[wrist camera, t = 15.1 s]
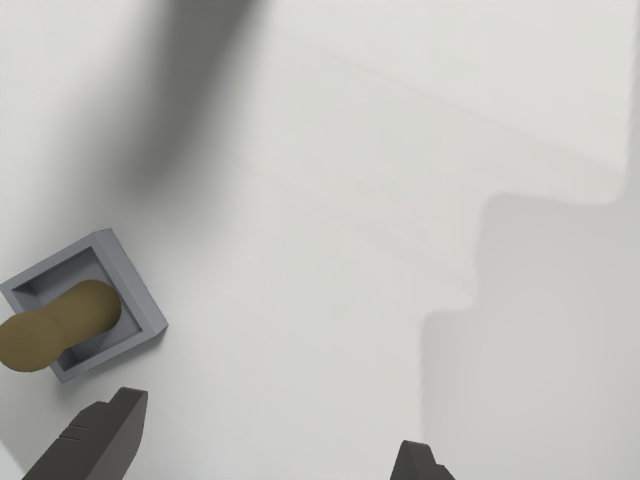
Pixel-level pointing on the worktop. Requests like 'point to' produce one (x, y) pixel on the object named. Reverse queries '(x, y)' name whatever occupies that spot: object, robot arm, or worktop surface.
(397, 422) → the worktop surface
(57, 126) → the worktop surface
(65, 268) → the tray
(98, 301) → the cork
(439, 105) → the worktop surface
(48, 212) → the worktop surface
